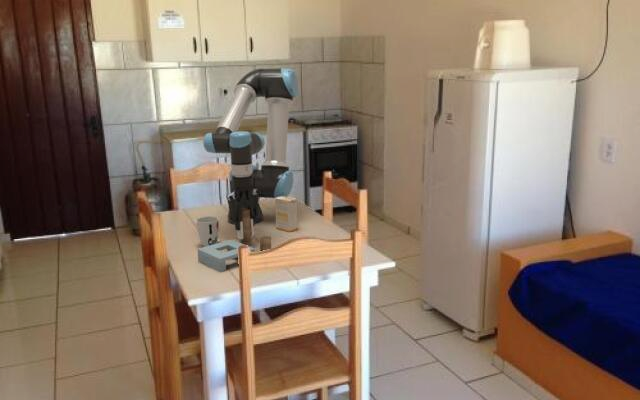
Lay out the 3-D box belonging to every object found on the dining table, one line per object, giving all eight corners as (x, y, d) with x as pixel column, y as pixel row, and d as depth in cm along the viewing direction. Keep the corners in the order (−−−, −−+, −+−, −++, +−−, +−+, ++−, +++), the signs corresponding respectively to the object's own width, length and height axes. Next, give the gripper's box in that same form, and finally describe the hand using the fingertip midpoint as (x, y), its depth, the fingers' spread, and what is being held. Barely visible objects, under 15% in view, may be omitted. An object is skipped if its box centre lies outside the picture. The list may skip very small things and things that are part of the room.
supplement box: (298, 229, 226) (297, 198, 223) (289, 232, 223) (288, 200, 219) (284, 225, 231) (283, 195, 228) (275, 228, 228) (274, 197, 225)
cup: (209, 249, 204) (207, 223, 202) (193, 246, 208) (191, 220, 206) (224, 243, 211) (223, 218, 208) (208, 240, 215) (206, 215, 212)
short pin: (258, 253, 199) (257, 237, 198) (266, 251, 202) (266, 235, 200) (264, 256, 196) (264, 240, 195) (273, 253, 199) (273, 237, 198)
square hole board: (198, 261, 193) (197, 248, 192) (231, 251, 202) (231, 239, 201) (220, 271, 183) (220, 258, 182) (255, 260, 192) (254, 248, 191)
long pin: (238, 246, 208) (236, 209, 204) (247, 243, 210) (245, 207, 207) (244, 248, 205) (242, 211, 201) (253, 245, 208) (251, 209, 204)
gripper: (228, 180, 193) (232, 244, 198) (267, 172, 204) (269, 233, 210) (216, 177, 198) (220, 239, 204) (255, 170, 209) (257, 229, 215)
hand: (245, 236), depth 207 cm, fingers closed on long pin, 4 cm apart
